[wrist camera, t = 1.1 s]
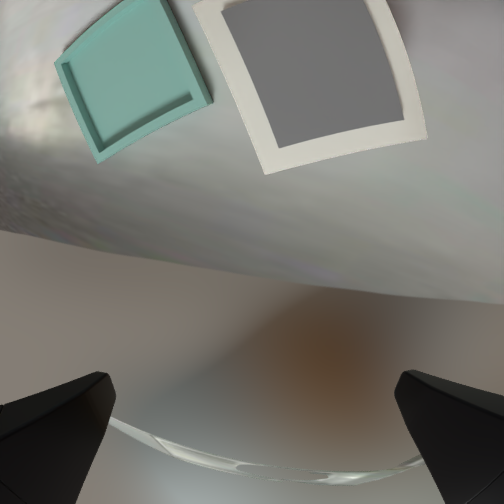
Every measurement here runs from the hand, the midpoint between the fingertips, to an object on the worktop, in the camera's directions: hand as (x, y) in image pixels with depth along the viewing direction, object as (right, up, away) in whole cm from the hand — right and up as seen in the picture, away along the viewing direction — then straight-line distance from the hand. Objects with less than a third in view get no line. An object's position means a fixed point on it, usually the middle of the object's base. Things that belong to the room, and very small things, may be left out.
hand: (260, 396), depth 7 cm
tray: (-9, +17, +8) cm, 21 cm away
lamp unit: (+3, +15, +6) cm, 17 cm away
